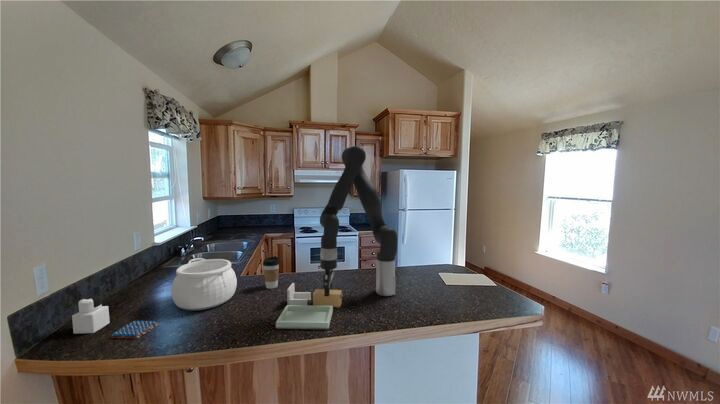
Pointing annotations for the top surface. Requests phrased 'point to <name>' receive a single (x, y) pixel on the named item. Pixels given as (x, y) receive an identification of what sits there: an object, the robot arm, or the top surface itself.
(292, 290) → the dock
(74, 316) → the white knobbed block
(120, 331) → the woven mat
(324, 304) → the box with top handle
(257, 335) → the top surface
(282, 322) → the tray
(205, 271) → the pot
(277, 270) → the coffee cup
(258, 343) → the top surface
